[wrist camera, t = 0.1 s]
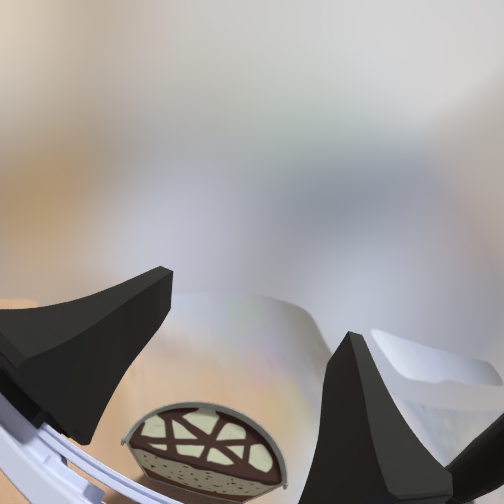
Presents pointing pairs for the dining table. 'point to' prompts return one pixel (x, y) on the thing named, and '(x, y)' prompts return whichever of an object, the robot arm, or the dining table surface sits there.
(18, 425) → the robot arm
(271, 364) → the dining table surface
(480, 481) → the portable speaker
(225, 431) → the food container
